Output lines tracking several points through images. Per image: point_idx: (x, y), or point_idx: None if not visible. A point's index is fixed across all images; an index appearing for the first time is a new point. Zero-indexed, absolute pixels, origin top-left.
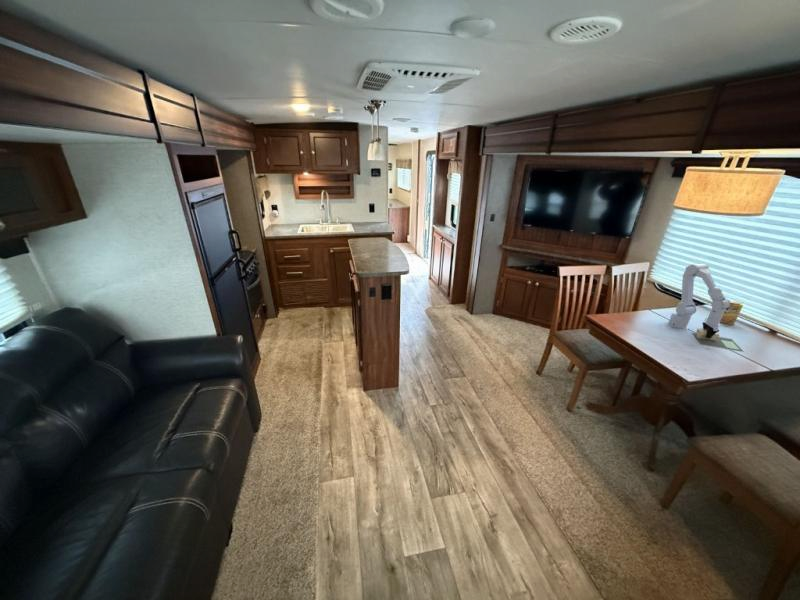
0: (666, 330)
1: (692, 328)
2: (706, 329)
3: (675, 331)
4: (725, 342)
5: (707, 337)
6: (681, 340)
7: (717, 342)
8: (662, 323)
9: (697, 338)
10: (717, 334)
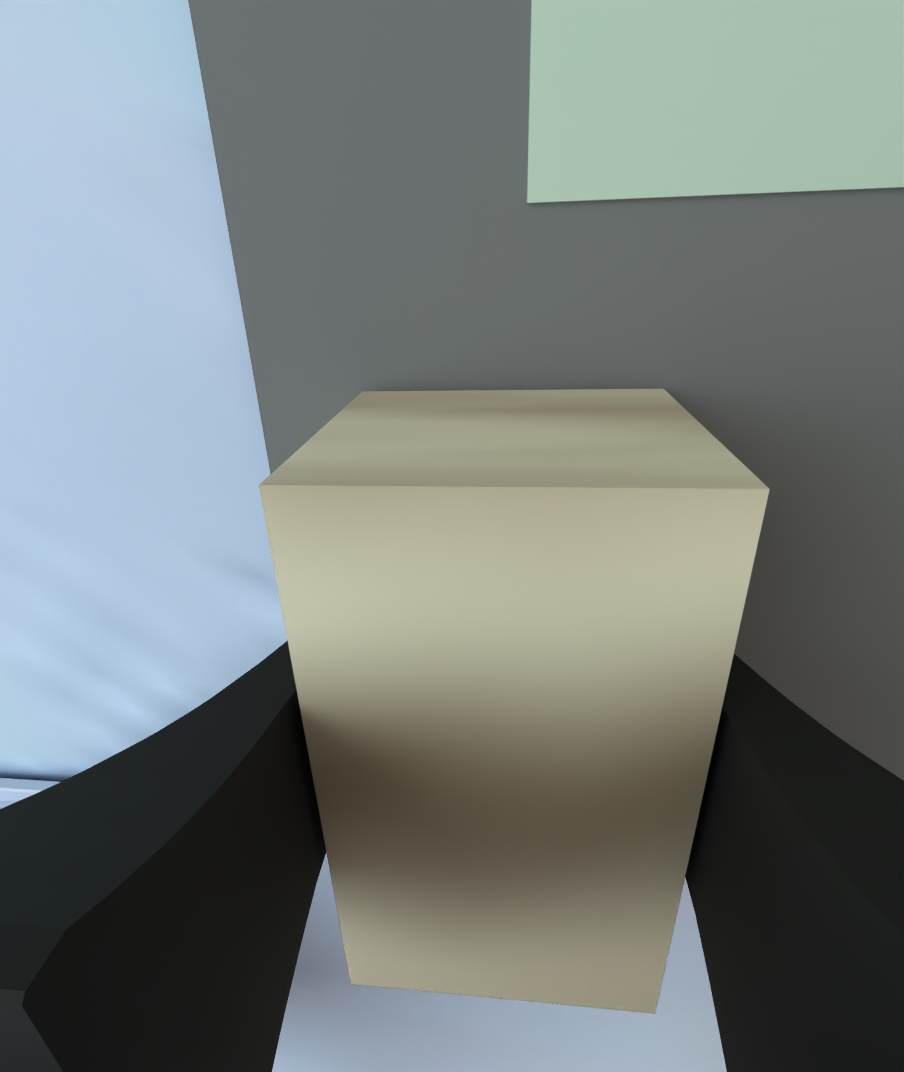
0: (441, 1063)
1: (12, 689)
2: (325, 810)
3: None
4: (720, 67)
5: None
6: None
7: (793, 394)
8: None
9: None
10: (742, 561)
